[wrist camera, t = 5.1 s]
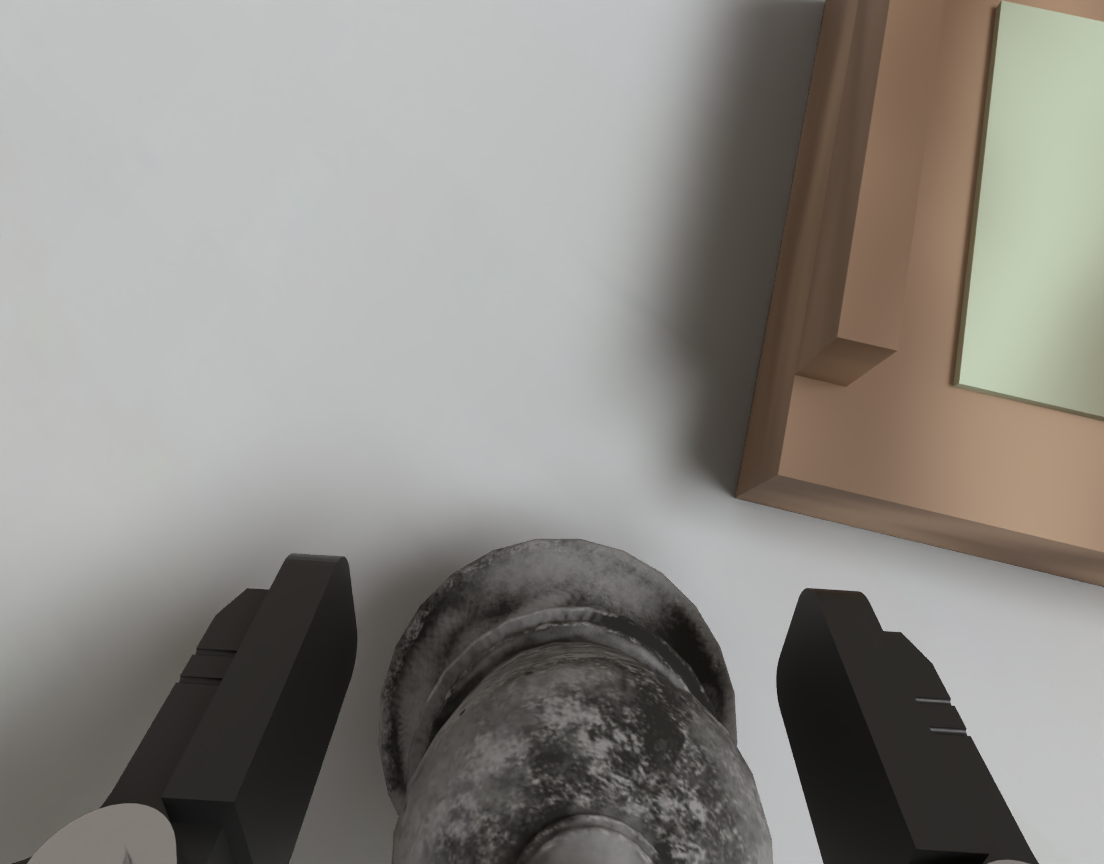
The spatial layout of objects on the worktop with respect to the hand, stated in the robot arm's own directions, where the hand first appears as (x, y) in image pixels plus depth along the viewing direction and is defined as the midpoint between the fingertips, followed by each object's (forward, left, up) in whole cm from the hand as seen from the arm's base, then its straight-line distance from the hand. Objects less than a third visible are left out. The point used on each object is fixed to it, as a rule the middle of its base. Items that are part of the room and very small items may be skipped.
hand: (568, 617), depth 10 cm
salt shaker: (0, -2, -6) cm, 6 cm away
